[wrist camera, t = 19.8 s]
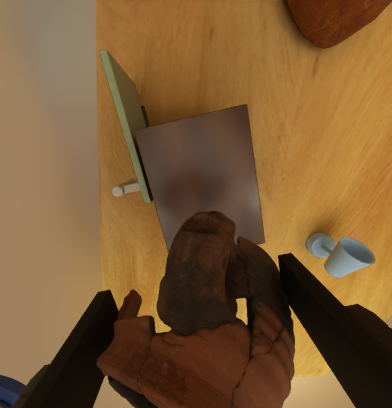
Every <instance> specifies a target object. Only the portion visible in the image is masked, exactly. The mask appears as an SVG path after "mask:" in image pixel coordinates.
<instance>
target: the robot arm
mask: <svg viewBox="0 0 392 408" xmlns="http://www.w3.org/2000/svg"><path fill="white" fill-rule="evenodd" d="M278 260H279V269H280V278H281V282H282V285H283V287H284V290H285V293H286V295H287V297H288V300H289V305H290V307H291V308H292V310H293V311H294V313H295V315H296V316H297V318H298V319H299V321H300V322H301V324H302V325H303V327H304V328H305V330H306V332H307V333H308V335H309V336H310V338H311V339H312V341H313V342H314V344H315V345H316V347H317V349H318V350H319V352H320V353H321V355H322V356H323V358H324V359H325V361H326V362H327V364H328V366H329V367H330V369H331V370H332V372H333V373H334V375H335V376H336V378H337V380H338V381H339V383H340V384H341V386H342V387H343V389H344V390H345V392H346V393H347V395H348V396H349V398H350V399H351V401H352V403H353V404H354V406H355V407H356V408H392V328H389V327H388V325H387V324H386V323H385V322H384V321H383V320H381V319H380V318H379V317H378V316H377V315H376V314H375V313H373V312H371V311H370V310H368V309H366V308H364V307H362V306H360V305H359V304H355V305H349V306H344V305H343V304H342V303H341V302H340V301H339V300H338V299H337V298H336V297H335V296H334V295H333V294H332V293H331V292H330V291H329V290H328V289H327V288H326V287H325V286H324V285H323V284H322V283H321V282H320V281H319V280H318V279H317V278H316V277H315V276H314V275H313V274H312V273H311V272H310V271H309V270H308V269H307V268H306V267H305V266H304V265H303V264H302V263H301V262H300V261H299V260H298V259H297V258H296V257H295V256H294V255H293V254H292V253H288V254H283V255H278ZM118 314H119V311H118V308H117V306H116V303H115V300H114V298H113V295H112V293H111V290H106V291H101V292H98V293H97V294H96V296H95V297H94V299H93V300H92V302H91V303H90V305H89V306H88V308H87V309H86V311H85V312H84V314H83V315H82V317H81V318H80V320H79V321H78V323H77V324H76V326H75V327H74V329H73V330H72V332H71V333H70V335H69V336H68V338H67V340H66V341H65V343H64V344H63V346H62V347H61V349H60V350H59V352H58V353H57V355H56V356H55V358H54V359H53V361H52V362H51V364H48V365H44V367H43V368H42V369H41V370H40V371H39V372H38V373H37V374H36V375H35V376H34V377H33V378H32V379H31V380H30V381H29V383H28V384H27V386H26V387H25V388H24V390H23V391H22V393H21V394H20V397H19V399H17V400H16V401H15V403H14V404H13V406H11V405H10V404H8V403H7V402H5V401H3V400H1V399H0V408H93V405H94V403H95V400H96V397H97V395H98V392H99V390H100V387H101V384H102V382H103V379H104V377H105V376H104V375H103V373H102V371H101V369H100V368H99V367H98V366H97V364H96V363H97V359H98V357H99V356H100V355H101V354H102V353H103V352H104V351H106V350H107V348H108V347H109V345H110V344H111V343H112V341H113V339H114V328H113V325H114V323H115V322H116V321H117V318H118Z"/></svg>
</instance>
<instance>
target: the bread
mask: <svg viewBox="0 0 392 408" xmlns="http://www.w3.org/2000/svg"><path fill="white" fill-rule="evenodd" d="M287 2H288V5H289V8H290V10H291V13H292V16H293V18H294V20H295V22H296V23H297V25H298V27H299V29H300V31H301V33H302V34H303V36H304V37H306V38H307V39H308V40H310V41H311V42H313V43H314V44H315V45H317V46H318V47H321V48H329V47H332V46H334V45H337V44H339V43H340V42H342V41H343V40H345V39H346V38H348V37H349V36H351V35H352V34H354V33H355V32H357V31H358V30H360V29H361V28H363V27H364V26H366V25H367V24H369V23H370V22H372V21H373V20H374V19H375V18H376V17H377V16H378V15H379V14H380V13H381V12H382V11H383V10H384V9H385V8H386V7H387V6H388V5H389V4H390V3H391V2H392V0H287Z"/></svg>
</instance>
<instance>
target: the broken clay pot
mask: <svg viewBox="0 0 392 408" xmlns="http://www.w3.org/2000/svg"><path fill="white" fill-rule="evenodd" d="M235 230H236V226H235V223H234V221H232V220H231V219H229V218H228V217H226V216H225V215H224V214H223V213H222V212H220V211H210V212H206V211H204V212H197V213H195V214H194V215H193V216H191V217H190V218H188V219H187V220H186V221H185V222H184V223H183V224H182V226H181V227H180V229H179V230H178V232H177V234H176V235H175V237H174V239H173V242H172V244H171V247H170V250H169V254H168V258H167V264H166V271H165V276H164V277H163V278H162V280H161V282H160V290H159V296H158V301H157V312H158V316H159V318H160V319H161V320H162V321H163V323H164V324H166V325H168V326H169V327H171V329H172V330H170V331H169V332H162V333H156V332H155V322H154V318H153V317H152V316H141V317H137V315H138V312H139V309H140V306H141V303H142V299H141V296H140V295H139V294H138V293H137V292H136V291H135V290H131V291H130V293H129V294H128V295H127V296H126V297H125V298H124V302H123V305H122V307H121V308H120V310H119V314H118V318H117V321H116V322H115V323H114V325H113V328H114V339H113V341H112V343H111V344H110V345H109V347H108V348H107V350H106V351H104V352H103V353H102V354H101V355H100V356H99V357H98V359H97V363H96V364H97V366H98V367H99V368H100V369H101V371H102V373H103V375H104V376H107V375H108V380H109V384H110V385H111V386H112V387H113V389H114V390H115V391H116V392H118V393H119V394H120V395H121V396H122V397H123V398H126V399H127V400H128V401H129V403H130V404H131V405H132V406H133V407H135V408H282V406H283V402H284V400H285V399H286V398H287V397H288V395H289V393H290V390H291V380H292V378H293V376H294V363H293V358H294V353H295V347H294V346H295V336H294V332H293V320H292V318H291V310H290V308H289V300H288V297H287V295H286V293H285V290H284V287H283V285H282V282H281V278H280V272H279V270H278V268H277V266H276V264H275V262H274V261H273V260H272V259H271V257H270V256H269V255H268V254H267V253H266V252H265V251H264V250H263V249H262V248H261V247H259V246H258V245H256V244H254V243H253V242H251V241H250V240H247V239H246V238H243V237H241V236H240V237H238V239H237V241H236V243H237V245H236V243H235V241H234V236H235ZM238 298H246V300H247V304H246V305H247V317H248V324H247V325H245V323H244V322H243V321H242V320H241V319H239V318H236V313H237V309H238V308H237V302H236V299H238Z"/></svg>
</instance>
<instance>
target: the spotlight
mask: <svg viewBox="0 0 392 408" xmlns="http://www.w3.org/2000/svg"><path fill="white" fill-rule="evenodd" d="M306 247H307V249H308V251H309V252H311V253H312V254H313V255H314V256H316V257H319V258H323V257H326V256H328V255H330V256H329V257H328V259H327V260H326V262H325V264H324V268H325V269H326V271H327V272H328V273H329V274H330V275H332V276H334V277H337V278H340V277H342V276H344V275H347V274H349V273H352V272H354V271H356V270H359V269H361V268H364V267H366V266H368V265H371V264H373V263H374V262H375V256H374V255H373V253H372V252H371V251H370V250H369V249H368V248H367V247H366V246H365V245H364V244H362V243H361V242H359V241H357V240H355V239H353V238H350V237H342V238H341V239H340V240H339V242H338V243H337V245H336V246H335V242H334V240H333V239H332V238H331V237H329V236H328V235H326V234H324V233H321V232H318V233H314V234H313V235H311V236H310V237H309V238H308V240H307V242H306Z"/></svg>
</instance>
